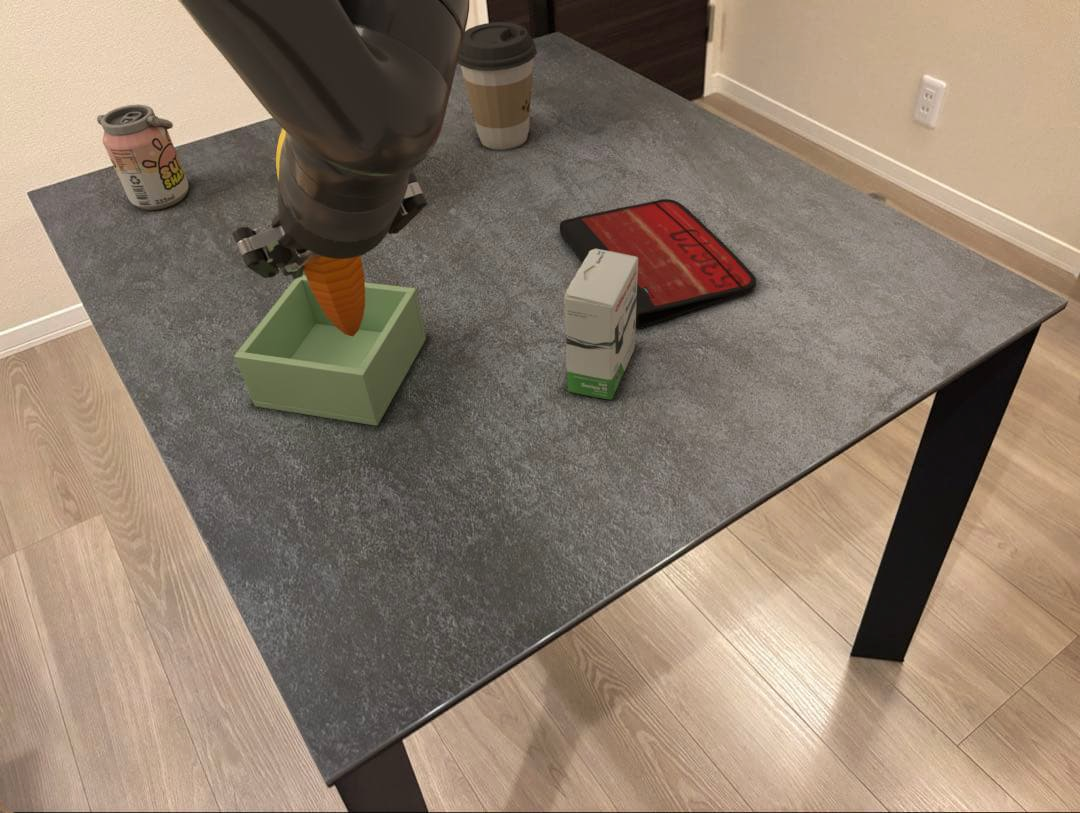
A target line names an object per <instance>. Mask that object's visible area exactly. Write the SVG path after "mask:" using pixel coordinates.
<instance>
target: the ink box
mask: <svg viewBox="0 0 1080 813" xmlns="http://www.w3.org/2000/svg"><path fill="white" fill-rule="evenodd" d="M637 276H638V257H635V256H631V255H627V254H622V253H617V252H612V251H606V250H600V249H593V250H590V251H589V253H588V255H587V257H586V258H585V260H584V262H582V264H581V266H580V267H579V269H578V270H577V272H576V273H575V275H574V277H573V278H572V280H571V282H570V284H569V286H568V287H567V289H566V291H565V294H564V297H563V300H564V302H563V303H564V328H565V329H564V330H565V360H566V361H565V364H566V384H567V385H566V386H567V391H568V392H569V393H573V394H578V395H582V396H588V397H593V398H599V399H605V400H613V399H614V396H615V395H616V392H617V389H618V387H619V385H620V383H621V380H622V378H623V376H624V374H625V371H626V369H627V367H628V365H629V362H630V360H631V357H632V355H633V354H634V351H635V348H636V327H635V326H636V300H637Z"/></svg>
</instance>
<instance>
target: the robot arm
mask: <svg viewBox="0 0 1080 813" xmlns="http://www.w3.org/2000/svg"><path fill="white" fill-rule="evenodd" d="M177 1H178V2H179V3H180V4H181V6H182V7H183V9H185V11H186V12H187V13H188V15H189V16H190V17H191V18H192V20H193V21H194V22H195V24H196V25H197V26H198V28H199V29H200V30H201V32H202V33H203V34H204V35H205V36H206V38H208V40H209V41H210V42H211V44H213V46H214V47H215V48H216V49H217V50H218V52H219V53H220V54H221V55H222V57H223V58H224V59H225V60H226V61H227V63H228V64H229V65H230V66H231V68H232V69H233V70H234V72H235V73H236V74H237V75H238V76H239V78H240V79H241V80H242V82H243V83H244V85H246V87H247V88H248V89H249V90H250V93H252V94H253V96H254V97H255V98H256V100H258V102H259V103H260V104H261V106H262V107H263V108H264V109H265V110H266V112H267V113H268V114H269V115H270V116H271V118H272V119H273V120H274V121H275V122H276V123H277V125H279V126H280V128H281V129H282V128H283V129H284V130H285V131H286V134H285V139H284V141H283V145H282V148H281V153H280V161H279V181H278V186H277V188H278V190H277V207H278V208H277V209H278V214H276V215H275V216H274V218H273V219H272V221H271V228H268V229H266V230H264V231H261V229H260V228H258V227H256V228H254V229H252V228H250V226H244V227H243V226H242V227H238V228H236V230H234V231H232V233H231V235H232V237H233V239H234V241H235V244H236V245H237V249H238V250H239V253H240V255H241V257H242V259H243V261H244V263H245V266H246V268H248V269H249V270H251V271H253V273H255V274H257V275H259V276H260V277H262V278H264V279H268V278H269V279H271V278H274V277H276V275H278V274H279V273H280V270H281V272H282V275H283V277H288V276H291V277H292V279H293V280H294V279H297V278H300V277H302V276H303V275H304V265H307V264H311V263H315V262H316V261H317V260H318V259H319V258H320V257H321V256H324V257H328V258H335V259H347V258H353V257H357V256H360V255H361V256H364V255H366V254H367V253H369V252H370V251H372V250H373V249H376V247H377V246H378V245H379V244H381V243H382V241H383V240H384V239H385V237H386V236H387V235H397V234H398V233H400V232H401V231H402V230H403V229H404V228H405V227H406V226H407V225H408V224H409V223H410V222H411V221H412V220H413V219H414V218H415V217H417V215H418V214H419V213H421V211H422V210H424V208H425V207H426V206H427V205H428V201H427V199H426V196H425V195H424V192H423V190H422V188H421V186H420V183H419V180H418V179H417V175H416V174H415V172H413V169H414V168H415V167H416V166H418V165H419V164H421V163H422V162H423V161H424V160H425V159H426V158H427V157H428V156H429V155H430V154H431V153H432V151H433V149H434V148H435V146H436V144H437V141H438V139H439V136H440V134H441V131H442V128H443V124H444V120H445V117H446V113H447V109H448V105H449V100H450V95H451V92H452V88H453V83H454V78H455V76H456V70H457V66H458V63H457V62H458V58H459V54H460V49H461V45H462V42H463V38H464V34H465V31H466V30H467V25H468V20H469V13H470V2H471V1H470V0H177ZM0 813H14V812H13V811H12V810H11V809H10V808H8V807H6V806H5V805H3V803H1V802H0Z"/></svg>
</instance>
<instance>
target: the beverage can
mask: <svg viewBox="0 0 1080 813" xmlns="http://www.w3.org/2000/svg"><path fill="white" fill-rule="evenodd" d="M96 121H97V123H98V124H99V125H100V126H101V128H102V129H103V136H102V144H103V146H104V149H105V152H106V153H107V156H108V157H109V160H110V161H111V164H112V166H113V168H114V170H115V172H116V175H117V177H118V179H119V182H120V184H121V186H122V188H123V190H124V193H125V195H126V196H127V199H128V200H129V202H130V203H131V204H132V205H133V206H134V207H137V208H140V209H141V210H145V211H157V210H163V209H166V208H169V207H172V206H174V205H176V204H177V203H180V202H181V201H182V200H183V199H185V197H186V196H187V193H188V192H189V181H188V180H187V179H188V178H187V177H186V176H187V175H186V173H185V171H184V169H183V167H182V166H183V165H182V163H181V161H180V158H179V156H178V153H177V151H176V148H175V146H174V143H173V141H172V138H171V136H170V133H169V131H168V130H170V129H173V127H174V124H173V122H172V121H170V120H168V119H165V118H160V117H158V116H157V115H156V114H155V112H154V109H153V108H152V107H151V106H149V105H146V104H129V105H124V106H120V107H117V108H114V109H112V110H110V111H108V112H107V113H105V114H99V115H97V117H96Z"/></svg>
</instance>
